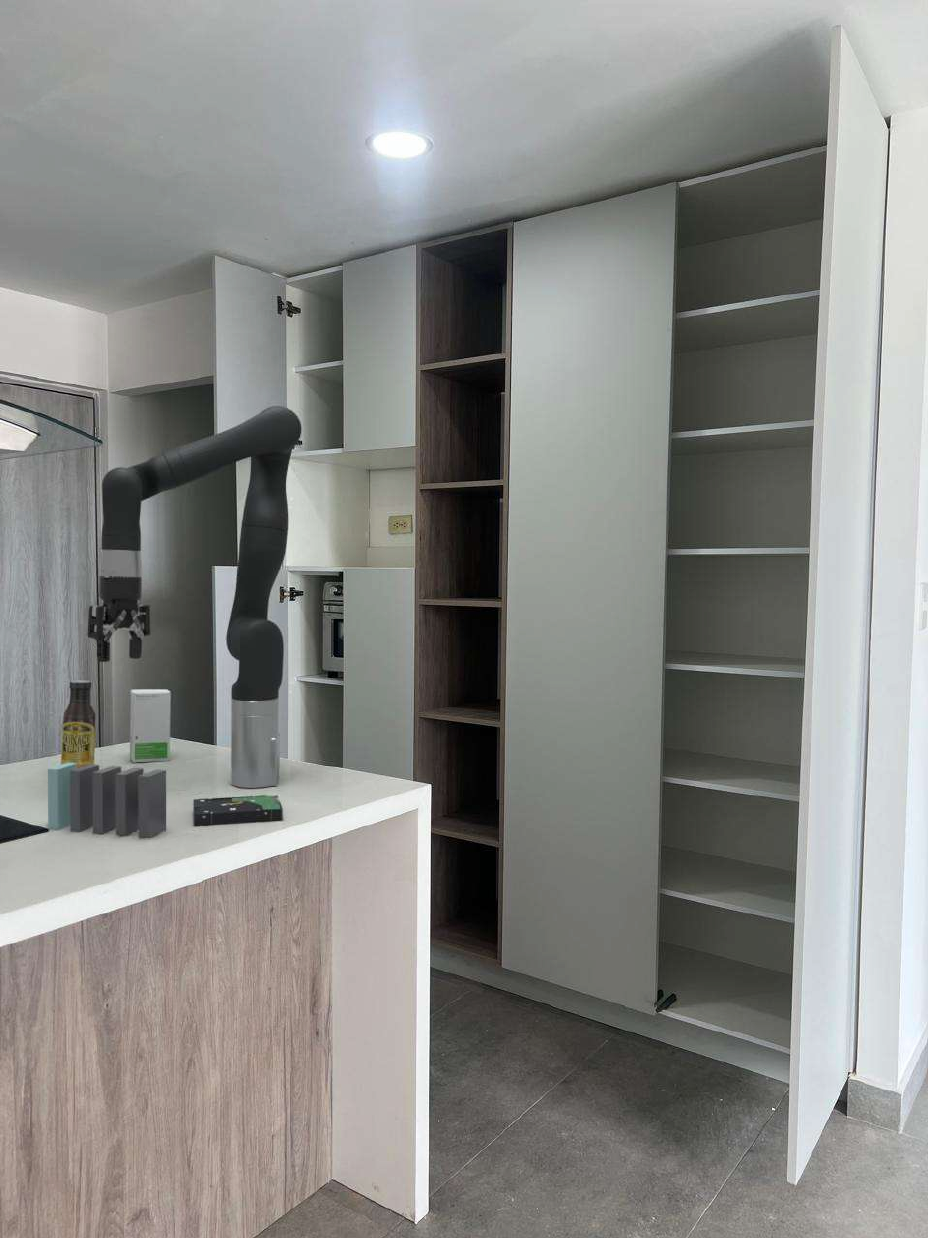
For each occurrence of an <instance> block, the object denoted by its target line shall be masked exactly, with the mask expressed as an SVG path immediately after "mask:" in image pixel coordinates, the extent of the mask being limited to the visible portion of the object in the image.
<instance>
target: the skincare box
mask: <svg viewBox="0 0 928 1238" xmlns="http://www.w3.org/2000/svg"><path fill="white" fill-rule="evenodd" d="M171 695H172V693H171V690H168V689H161V688H160V689H158V688H157V689H150V688H149V689H145V688H144V689H143V688H142V689H138V688H137V689H136V688H135V689H130V720H129V721H130V723H129V725H130V727H129V731H130V732H129V758H130V761H131V763H135V764H136V763H149V762H150V763H155V762H169V761H170V758H171V757H170V752H171V697H172V696H171Z"/></svg>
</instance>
